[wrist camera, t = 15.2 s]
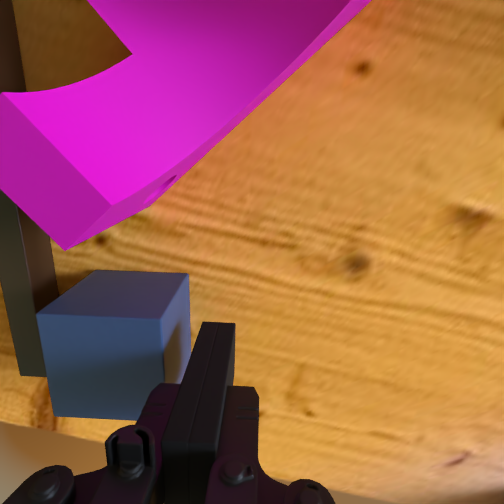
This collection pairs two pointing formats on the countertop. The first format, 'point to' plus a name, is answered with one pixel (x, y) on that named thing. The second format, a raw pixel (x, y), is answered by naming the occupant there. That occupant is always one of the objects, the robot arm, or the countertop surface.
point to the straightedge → (22, 235)
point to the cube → (115, 342)
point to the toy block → (152, 105)
